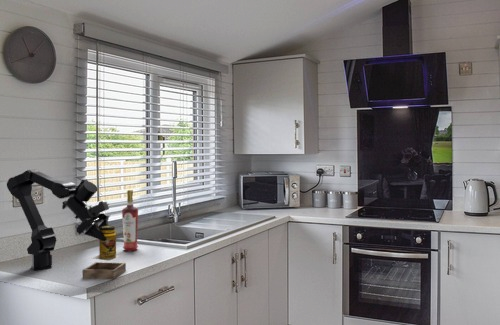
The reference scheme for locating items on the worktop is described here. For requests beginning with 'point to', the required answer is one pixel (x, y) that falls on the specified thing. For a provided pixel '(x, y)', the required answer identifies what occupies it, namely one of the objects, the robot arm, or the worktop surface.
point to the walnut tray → (104, 270)
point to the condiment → (107, 244)
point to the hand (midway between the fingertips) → (109, 238)
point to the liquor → (130, 223)
